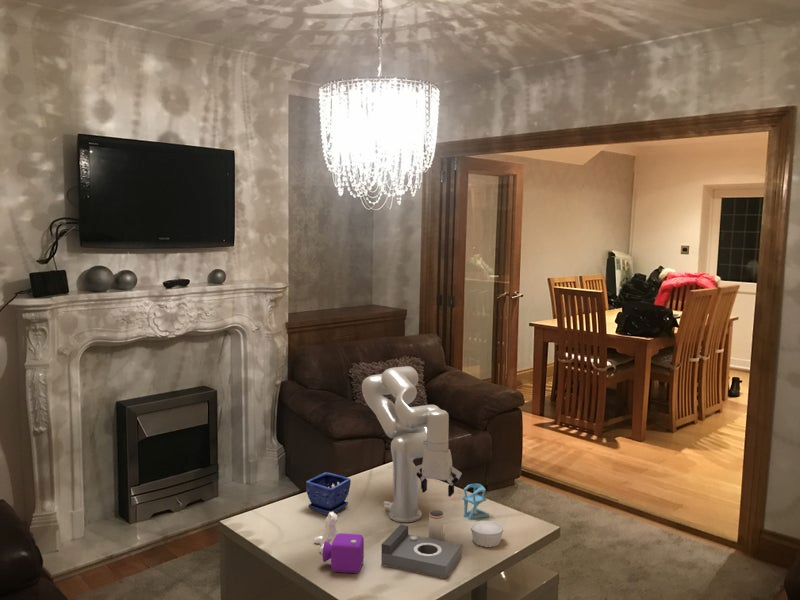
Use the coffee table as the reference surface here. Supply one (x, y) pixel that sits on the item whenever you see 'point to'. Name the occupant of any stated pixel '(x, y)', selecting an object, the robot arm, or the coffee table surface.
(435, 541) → the camera body
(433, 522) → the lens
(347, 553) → the toy camera
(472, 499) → the chair
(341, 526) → the coffee table surface
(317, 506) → the flower pot
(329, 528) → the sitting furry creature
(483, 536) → the ramekin
